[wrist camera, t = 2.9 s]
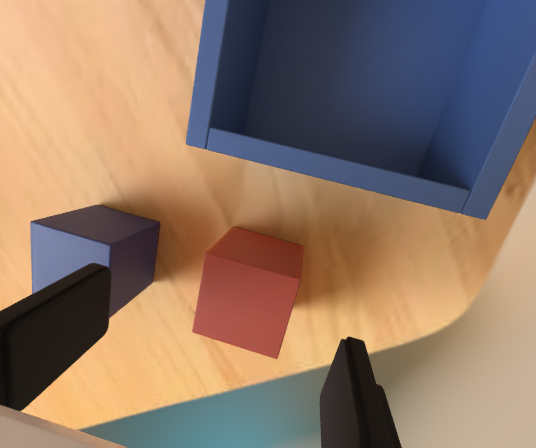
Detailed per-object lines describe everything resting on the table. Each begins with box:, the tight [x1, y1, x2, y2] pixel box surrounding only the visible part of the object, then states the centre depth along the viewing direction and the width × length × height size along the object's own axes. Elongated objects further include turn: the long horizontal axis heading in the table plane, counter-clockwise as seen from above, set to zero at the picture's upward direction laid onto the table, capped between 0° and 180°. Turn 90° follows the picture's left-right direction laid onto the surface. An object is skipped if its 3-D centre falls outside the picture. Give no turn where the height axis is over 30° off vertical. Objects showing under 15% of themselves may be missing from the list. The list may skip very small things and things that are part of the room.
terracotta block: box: [192, 227, 304, 359], centre depth 15 cm, size 4×4×4 cm
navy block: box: [31, 205, 160, 318], centre depth 16 cm, size 4×4×4 cm
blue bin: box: [186, 0, 536, 220], centre depth 11 cm, size 11×11×6 cm
